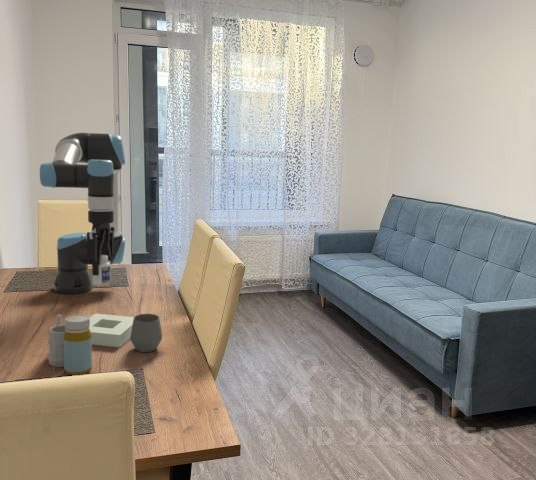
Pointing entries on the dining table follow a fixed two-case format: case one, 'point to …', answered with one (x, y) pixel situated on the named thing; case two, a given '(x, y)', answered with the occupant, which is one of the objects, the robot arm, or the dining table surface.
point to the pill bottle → (105, 269)
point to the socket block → (110, 329)
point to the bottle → (77, 345)
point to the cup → (146, 332)
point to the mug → (56, 344)
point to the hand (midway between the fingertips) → (101, 282)
